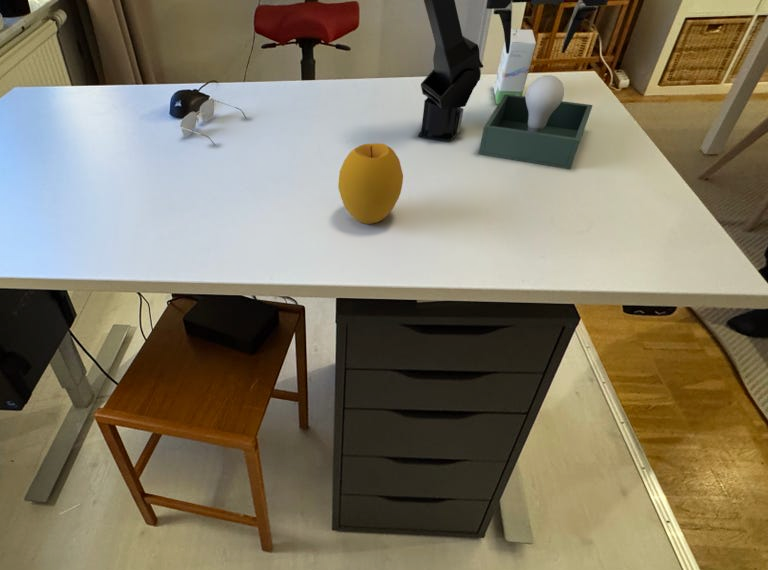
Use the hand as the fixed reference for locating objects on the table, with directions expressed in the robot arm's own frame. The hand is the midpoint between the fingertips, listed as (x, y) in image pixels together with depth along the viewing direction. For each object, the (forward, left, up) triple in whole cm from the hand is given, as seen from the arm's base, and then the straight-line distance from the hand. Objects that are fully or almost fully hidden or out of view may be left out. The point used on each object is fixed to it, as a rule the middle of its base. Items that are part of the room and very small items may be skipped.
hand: (534, 52), depth 97 cm
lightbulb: (+4, -7, -12) cm, 15 cm away
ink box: (-5, +13, -13) cm, 19 cm away
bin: (+4, -7, -13) cm, 15 cm away
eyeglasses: (-56, -23, -13) cm, 62 cm away
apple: (-14, -42, -13) cm, 46 cm away
